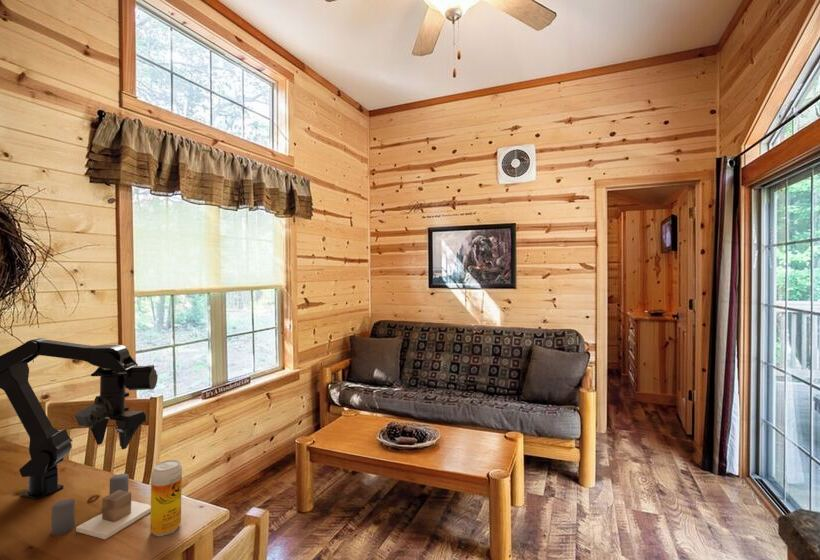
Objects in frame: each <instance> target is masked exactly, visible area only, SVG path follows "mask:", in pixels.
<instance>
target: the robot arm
mask: <svg viewBox="0 0 820 560" xmlns="http://www.w3.org/2000/svg"><path fill="white" fill-rule="evenodd" d="M39 356H42V357H43V356H44V357H50V358H51V357H52V358H58V359H66V360H67V359H68V360H76V361H83V362H86V363H87V364H88V363H89V364H90V365H92V366H94V367H97V369H95V370H94V372H92V373H91V374H90V377H100V378H99V395H97V396H95V398H94V403H92V404H90V405H87V406H85V407H84V408H82V409H80V411H78V412H76V413H75V414H74V418H75V420H76V422H77V424H78V426H84V427H86V428H90V431H91V432H92V435H93V437H94V440H95V443H96V445H98V446H99V445H102V444H103V442H104V439H105V437H106V431H107V428H108V423H109V420H112V421H113V420H114V421H115V425H116V427H115V428H114V429H115V430H117V431H118V432H119V437H120V446H121V450H126V449H127V448H128V446H129V444H130V442H131V441H132V439H133V436H134V435H135V433H136V432H137V430H138V429H139V427H140V425H143V423H146V422H147V413H146V412H145V411H141V410H140V411H139V410H132V411H130V407H129V406H126V398H128V397H130V392H126V389H128V391H149V390H150V391H151V390H154V389H155V388H156V387H157V383H158V374H157V370H156V369H155V364H148V365H138V363H137V361H135V359H134V358H133V357H132V356H131V355H130V352H129V349H128V348H127V346H125V345H124V344H101V345H89V344H80V343H74V342H66V341H59V340H52V339H51V340H50V339H47V338H44V337H41V338H39V337H38V338H34V339H30V340H27V341H26V342H24V343H22V344H21V345H19V346H17V347H15V348H13V349H11V350H9V351H7V352H5V353H3V354H1V355H0V390H3V392H4V393H5V395H6V396H7V399H8V401H9V402H10V404H11V406H12V409H14V412H15V413H16V415H17V417H18V419H19V421H20V423H21V424H22V426H23V428H24V430H25V431H26V433H27V436H28V437H29V444H28V445H29V446H28V453H29V456H30V457H29V458H30V460H28V461H27V462H26V463H25V464H24V465H23V466H21V468H19V473H20V475H21V477H22V478H24V477H25V478H26V477H27V490H26V491H23V492H21V493H20V496H21V497H26V498H29V499H34V500H39V499H41V498H43V497H45V496H47V495H50V494H52V493H55V492H58V491H59V490H62V489H63V488H65V486H64V485H63V484H59V467H58V465H59V464H60V463H62V462H63V461H64V459H65V457H66V456H67V455H68V454H69V453H70V452H71V449H72V447H73V445H72V441H73V439H72V438H70V436H69V433H68V430H67V429H66V428H63V429H61V430H58V429H56V428H55V427H54V426H53V425H52V423H51V421H50V419H49V417H48V416H47V414H46V411H45V410H44V408H43V406H42V404H41V402H40V400H39V399H38V397H37V395H36V393H35V391H34V390H33V388H32V386H31V384H30V381H29V376H30V375H29V374H30V367H29V363H31V362H32V361H33V360H35V359H36V358H38V357H39ZM125 412H126V413H125Z"/></svg>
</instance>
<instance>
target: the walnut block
mask: <svg viewBox="0 0 820 560" xmlns="http://www.w3.org/2000/svg"><path fill="white" fill-rule="evenodd" d="M131 501H132V492H131V491H128V492H127V491H123V490H118V491H116V492H114V493H112V494H110V495H109V494H108V495H106V496H104V497H102V501H101V502H102V507H101V513H102V519H103V520H107V521H111V522H116V521H118V520H120V519H121V518H123V517H125V516H127V515H128V514H130V513H131Z"/></svg>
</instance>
